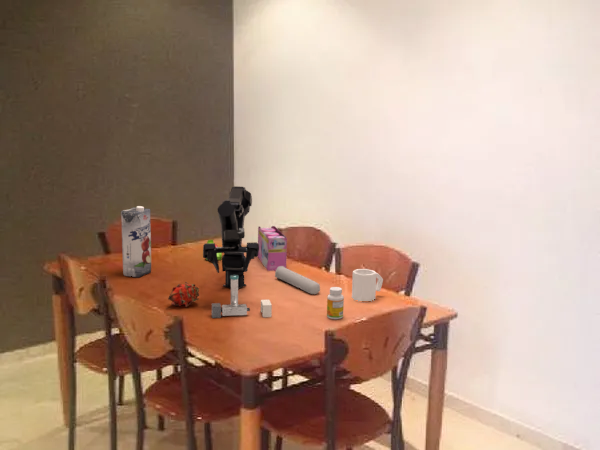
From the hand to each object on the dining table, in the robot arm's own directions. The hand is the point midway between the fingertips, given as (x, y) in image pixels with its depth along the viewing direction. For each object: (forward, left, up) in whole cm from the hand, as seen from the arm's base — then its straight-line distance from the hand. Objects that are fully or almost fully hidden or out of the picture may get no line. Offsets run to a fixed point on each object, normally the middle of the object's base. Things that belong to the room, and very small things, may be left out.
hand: (232, 271), depth 249 cm
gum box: (-26, +56, -13) cm, 63 cm away
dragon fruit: (-15, -7, -13) cm, 21 cm away
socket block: (+12, +3, -13) cm, 18 cm away
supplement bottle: (+32, +15, -13) cm, 37 cm away
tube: (+2, +36, -13) cm, 38 cm away
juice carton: (-56, +10, -13) cm, 59 cm away
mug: (+30, +40, -13) cm, 51 cm away
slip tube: (+5, -5, -12) cm, 14 cm away
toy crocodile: (-51, +48, -13) cm, 71 cm away
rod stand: (+4, -6, -13) cm, 15 cm away
